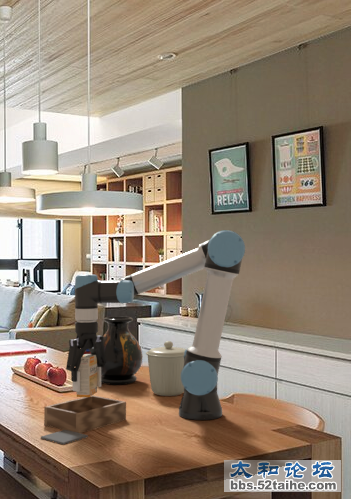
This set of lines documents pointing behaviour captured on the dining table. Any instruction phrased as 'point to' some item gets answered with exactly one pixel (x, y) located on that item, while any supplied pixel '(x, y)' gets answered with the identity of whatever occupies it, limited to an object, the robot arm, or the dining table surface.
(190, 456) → the dining table surface
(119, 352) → the black painted vase
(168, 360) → the canister
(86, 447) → the dining table surface
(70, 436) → the mat
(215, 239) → the robot arm
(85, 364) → the supplement box
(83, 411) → the crate
